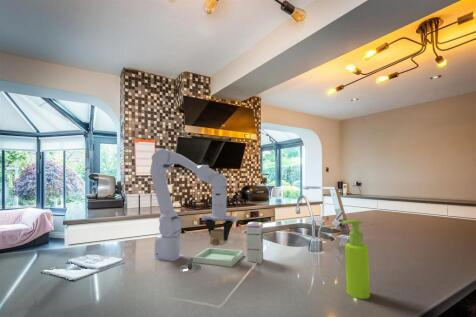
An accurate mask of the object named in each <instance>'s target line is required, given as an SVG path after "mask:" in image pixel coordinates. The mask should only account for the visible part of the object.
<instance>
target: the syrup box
mask: <svg viewBox="0 0 476 317" xmlns="http://www.w3.org/2000/svg"><path fill="white" fill-rule="evenodd" d="M245 227H246V228H245V229H246V231H245V232H246V235H245V236H246V261H247V262H252V263H253V262H254V264H262V263H263V261H264V240H263V238H264V236H263V233H264V232H263V222H261V221H250V222H249V221H248V223H246V226H245Z"/></svg>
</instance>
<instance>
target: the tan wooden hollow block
mask: <svg viewBox="0 0 476 317" xmlns="http://www.w3.org/2000/svg"><path fill="white" fill-rule="evenodd" d="M209 236H210V237H209V241H210V242H209V243H210V245H212V246H214V247H215V246H217V247H218V246H223V245H225V244H227V243H228V241H229V239H228V240H227V241H224V228H216V227H215V229H213V230H211V231H210V234H209Z"/></svg>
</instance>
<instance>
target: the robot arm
mask: <svg viewBox="0 0 476 317" xmlns="http://www.w3.org/2000/svg"><path fill="white" fill-rule="evenodd" d="M151 160H152V161H151V166H150V171H149V174H150V177H151V181H152V185H153V188H154V193H155V196H156V201H157V204H158V208H159V211H160V216H159V218H158V219H159V220H158V221H159V228H158V231H159V233H160V234H159V235H157V237H156V238H155V241H154V257H153V259H156V260H164V261H172V262H174V261H176V260H178V259H180V258H181V257H183V256H184V254H182V253H181V252H180V251H181V232H180V231H181V229H182V228H183V222H182V220H181V218H180V217H179V214H178V212H176V210H175V209H174V206H173V201H172V197H171V195H170V190H169V187H168V182H167V179H166V175H165V173H166V172H167V171H168V169H169V168H170V167H172V166H173V165H180V166H182V167H184V168H186V169H188V170H190V171H192V172H194V175H195V177H196V178H198V179H199V180H201V181H203V182H205V183H206V184H208V185H210V186H211V187H212V193H211V196H212V197H211V214H203V215H201V221H205V222H204V225H205V226H206V228H207V230H208V233H209V235H210V231H211V230H213V229H216V222H222V225H223V226H222V227H223V229H224V241H227V240H228V241H229V234H230V232H231V228H232V227H233V224H234V223H237V222H238V215H237V216H235V215H228V214H227V199H228V198H227V196H228V195H227V185H228V178H227V177H226V176H225V175H224V174H220V173H219V171H217V170H216V171H215V170H214V169H212V168H210V165H208V164H201V165H199V164H196V163H195V162H193V161H192V160H190V159H189V158H187V157H186V156H184V155H183V154H180V153H177V152H174V150H167V149H165V148H161V147H160V148H158V149H156V150H155V151H154V153H153V154H152V156H151Z"/></svg>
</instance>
